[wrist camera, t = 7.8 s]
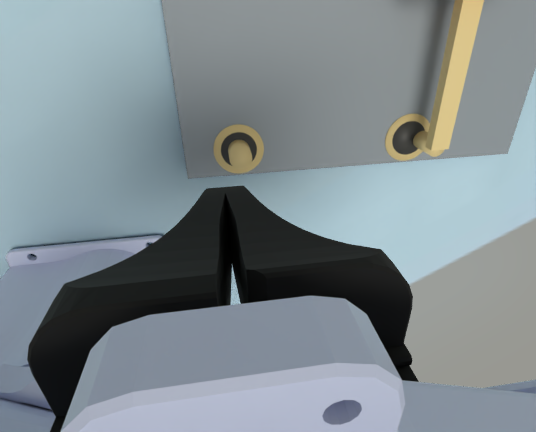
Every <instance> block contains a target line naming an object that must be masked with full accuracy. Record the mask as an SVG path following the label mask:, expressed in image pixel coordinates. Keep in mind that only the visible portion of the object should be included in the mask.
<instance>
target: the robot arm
mask: <svg viewBox="0 0 536 432" xmlns="http://www.w3.org/2000/svg"><path fill="white" fill-rule="evenodd" d="M148 242H152V244H151V245H148V244H147V243H148ZM31 254H34V255H36V257H33V256H31ZM6 260H7V262H8V265H9V267H10V268H9V269H8V271H7V272H6V273H5V274H4V275H3V277H2V278H1V279H0V432H536V380H530V381H524V382H518V383H512V384H505V385H499V386H493V387H487V388H474V387H464V386H454V385H444V384H434V383H425V382H419V381H418V380H417V378H416V376H415V375H414V373H413V371H412V370H411V368H410V366H409V365H411V363H412V358H411V354H410V353H409V351H408V349H407V348H406V346H405V344H404V339H405V335H406V331H407V327H408V323H409V318H410V314H411V310H412V298H413V296H412V293H411V289H410V286H409V284H408V283H407V281H406V280H405V279H404V277H403V276H402V275H401V273H400V272H399V270H398V269H397V268H396V266H395V265H394V264H393V262H392V261H391V260H390V259H389V258H388V257H387V255H386V254H385V253H384V252H383V251H382V250H381V249H375V248H369V247H363V246H357V245H351V244H346V243H342V242H338V241H335V240H331V239H327V238H324V237H321V236H318V235H316V234H313V233H310V232H308V231H305V230H303V229H301V228H299V227H297V226H295V225H293V224H291V223H289V222H287V221H285V220H284V219H282V218H280V217H279V216H277V215H276V214H275V213H273V212H272V211H270V210H269V209H268V208H266V207H265V206H264V205H263V204H262V203H261V202H259V201H258V200H257V199H256V198H255V197H254V196H253V195H252V194H251V193H250V192H249V191H248V190H247V189H246V188H245V187H244V186H233V187H221V188H208V189H206V190H205V191H204V192H203V193H202V195H201V196H200V198H199V199H198V201H197V202H196V203H195V205H194V206H193V207H192V208H191V209H190V211H189V212H188V213H187V214H186V215H185V217H184V218H183V219H182V220H181V221H180V222H179V223H178V224H177V225H176V226H175V227H173V228H172V229H171V230H170V231H169V232H168V233H166V234H165V235H164V236H161V235H155V236H144V237H134V238H123V239H113V240H102V241H92V242H81V243H71V244H61V245H50V246H40V247H29V248H19V249H12V250H10V251H9V252H8V253H7V254H6ZM232 265H233V270H234V275H235V279H236V284H237V289H238V293H239V298H240V303H241V304H236V305H230V302H231V273H232Z"/></svg>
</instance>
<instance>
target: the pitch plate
mask: <svg viewBox="0 0 536 432" xmlns="http://www.w3.org/2000/svg"><path fill="white" fill-rule="evenodd" d="M454 2H455V0H162V7H163V14H164V21H165V27H166V34H167V41H168V47H169V54H170V61H171V68H172V74H173V81H174V88H175V95H176V101H177V108H178V115H179V122H180V128H181V135H182V142H183V149H184V155H185V162H186V169H187V175H188V179H189V178H202V177H214V176H227V175H240V174H253V173H265V172H278V171H291V170H304V169H316V168H329V167H342V166H355V165H367V164H380V163H393V162H406V161H418V160H431V159H444V158H457V157H469V156H482V155H495V154H508V150H509V147H510V144H511V141H512V138H513V135H514V132H515V129H516V126H517V123H518V120H519V117H520V114H521V111H522V108H523V104H524V101H525V98H526V95H527V92H528V89H529V86H530V83H531V80H532V77H533V74H534V71H535V68H536V0H484V3H483V7H482V11H481V15H480V20H479V24H478V28H477V32H476V36H475V41H474V45H473V49H472V53H471V57H470V62H469V66H468V70H467V74H466V78H465V83H464V87H463V91H462V95H461V99H460V104H459V108H458V112H457V116H456V120H455V125H454V129H453V133H452V137H451V141H450V146H449V149H445V150H444V151H443V153H442V154H441V155H439V156H437V157H432V156H430V155H428V154H427V153H425V152H423V151H422V150H420V149H418V148H417V147H415V146H414V144H413V139H414V136H415V135H416V134H417V133H418V132H420V131H426V132H428V130H429V125H430V121H431V116H432V111H433V106H434V101H435V96H436V91H437V86H438V81H439V76H440V71H441V66H442V61H443V57H444V52H445V47H446V42H447V37H448V32H449V27H450V22H451V17H452V12H453V7H454Z"/></svg>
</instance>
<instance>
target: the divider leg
mask: <svg viewBox="0 0 536 432" xmlns="http://www.w3.org/2000/svg"><path fill="white" fill-rule="evenodd" d="M483 3H484V0H455V2H454V7H453V12H452V17H451V22H450V27H449V32H448V37H447V42H446V47H445V52H444V57H443V61H442V66H441V71H440V76H439V81H438V86H437V91H436V96H435V101H434V106H433V111H432V116H431V121H430V125H429V130H428V132H426V131H420V132H418V133H417V134H416V135H415V136H414V139H413V144H414V146H415V147H417V148H418V149H420V150H422V151H423V152H425V153H427V154H428V155H430V156H432V157H437V156H439V155H441V154H442V153H443V151H444V150H445V149H449V146H450V141H451V137H452V133H453V129H454V125H455V120H456V116H457V112H458V108H459V104H460V99H461V95H462V91H463V87H464V83H465V78H466V74H467V70H468V66H469V62H470V57H471V53H472V49H473V45H474V41H475V36H476V32H477V28H478V24H479V20H480V15H481V11H482V7H483Z"/></svg>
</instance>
